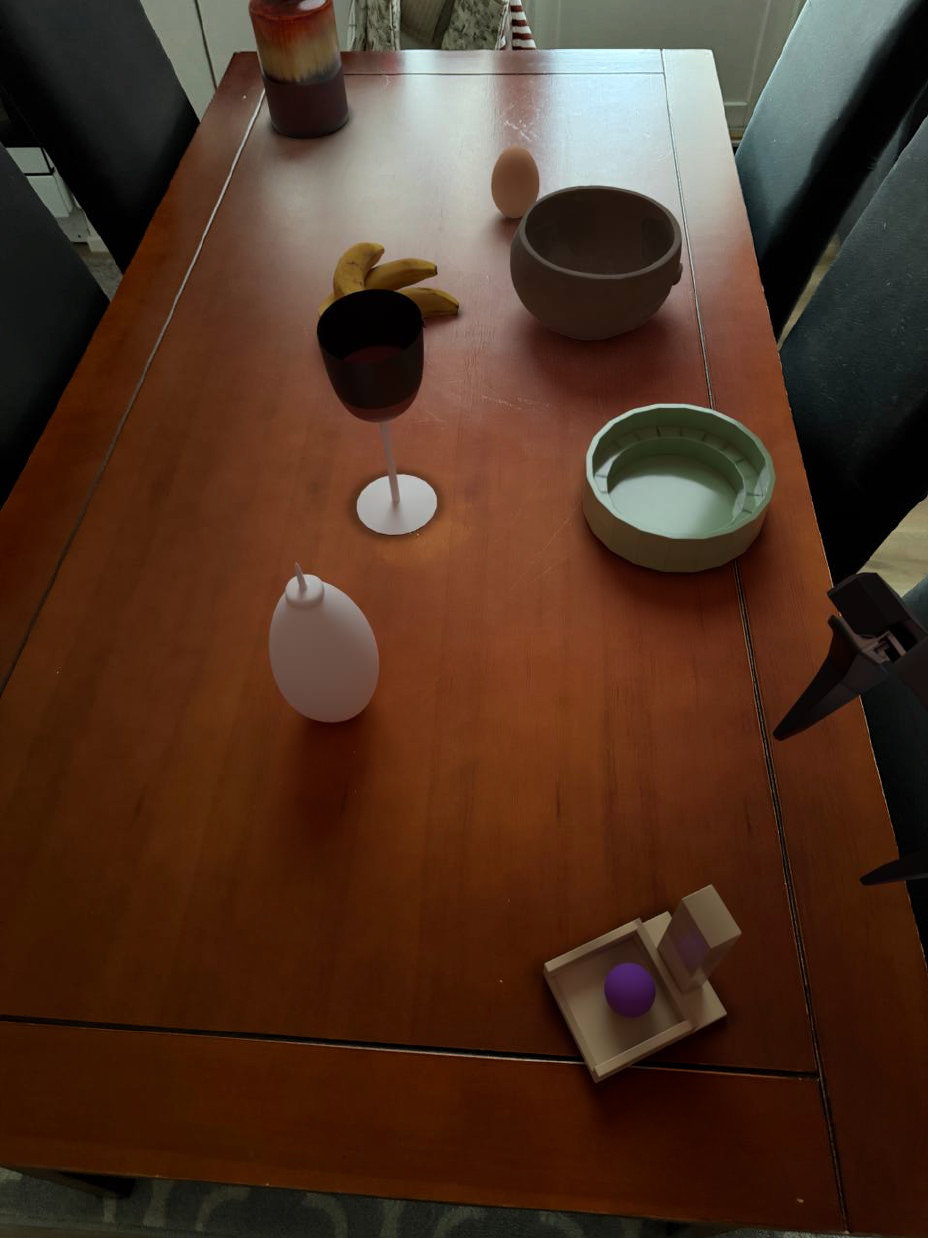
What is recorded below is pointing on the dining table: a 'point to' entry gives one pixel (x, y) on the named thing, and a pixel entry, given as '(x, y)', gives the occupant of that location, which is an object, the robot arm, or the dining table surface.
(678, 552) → the green bowl
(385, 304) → the wineglass
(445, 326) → the dining table surface
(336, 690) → the sauce bottle
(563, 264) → the bowl
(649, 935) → the scoop
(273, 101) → the vase
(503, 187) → the egg
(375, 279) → the banana
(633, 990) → the ball
